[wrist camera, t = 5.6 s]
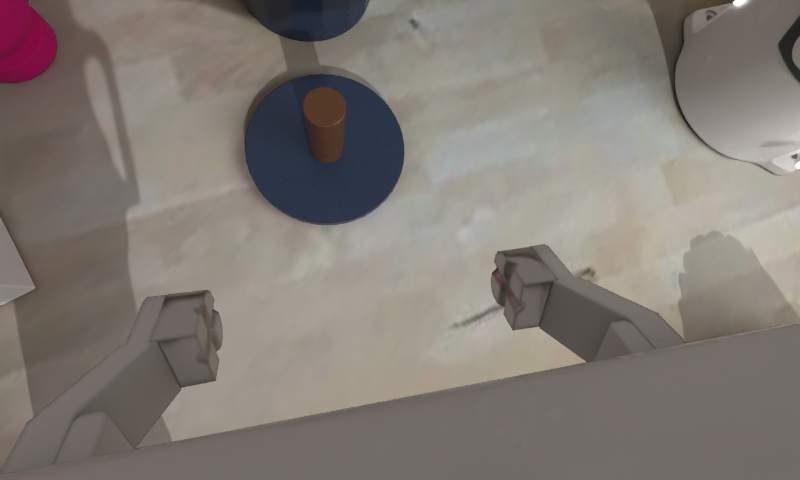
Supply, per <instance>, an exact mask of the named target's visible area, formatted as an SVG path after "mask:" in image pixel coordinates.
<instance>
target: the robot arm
mask: <svg viewBox="0 0 800 480" xmlns="http://www.w3.org/2000/svg"><path fill="white" fill-rule="evenodd" d="M675 89H676V95H677V99H678V102H679V105H680V108H681V110H682V112H683V114H684V116H685V118H686V120H687V122H688V123H689V125H690V126H691V127H692V129H693V130H694V131H695V133H696V134H697V135H698V136H699V137H700V138H701V139H702V140H703V141H704V142H705V143H706V144H708V145H709V146H710V147H712V148H713V149H715V150H716V151H718V152H720V153H721V154H723V155H726V156H728V157H730V158H733V159H737V160H742V161H748V162H753V163H757V164H760V165H761V166H763V167H764V168H766V169H767V170H769V171H771V172H773V173H775V174H777V175H780V176H784V175H787V174H789V173H792V172H794V171H796V170H797V169H798V168H800V0H735V1H734V2H733V3H729V4H724V5H719V6H714V7H709V8H705V9H700V10H696V11H695V12H693V13H692V14H690V15H689V16H687V17H686V18H685V20H684V45H683V48H682V51H681V53H680V55H679V58H678V61H677V64H676V70H675ZM494 263H495V264H496V266H497V268H496V270H495V271H494V272H493V273H492V277H491V288H492V293H493V296H494V298H495V300H496V302H497V303H498V304H500V305H501V306H503V307H505V309H504V313H503V314H504V316H505V318H506V319H507V321H508V323H509V324H510V326H511V328H512V330H518V329H525V328H532V327H539V326H540V329H542V330H543V331H545V332H546V333H547V334H549V335H550V336H552V337H553V338H554V339H556V340H557V341H559V342H560V343H561V344H563V345H564V346H565V347H567V348H568V349H570V350H571V351H572V352H574V353H575V354H577V355H578V356H579V357H581V358H582V359H584V360H585V361H586V362H587V363H581V364H576V365H571V366H566V367H560V368H555V369H550V370H545V371H540V372H534V373H529V374H524V375H519V376H513V377H508V378H503V379H498V380H492V381H487V382H482V383H477V384H472V385H466V386H461V387H456V388H451V389H445V390H440V391H435V392H430V393H425V394H419V395H414V396H409V397H404V398H398V399H393V400H388V401H383V402H377V403H372V404H367V405H362V406H357V407H351V408H346V409H341V410H336V411H330V412H325V413H320V414H315V415H310V416H304V417H299V418H294V419H289V420H283V421H278V422H273V423H268V424H263V425H257V426H252V427H247V428H242V429H237V430H231V431H226V432H221V433H216V434H210V435H205V436H200V437H195V438H190V439H184V440H179V441H174V442H169V443H163V444H158V445H153V446H148V447H143V448H137V449H135V448H136V446H137V445H138V444H139V443H140V441H141V440H142V439H143V438H144V436H145V435H146V434H147V432H148V431H149V430H150V429H151V427H152V426H153V425H154V424H155V422H156V421H157V420H158V418H159V417H160V416H161V415H162V413H163V412H164V411H165V409H166V408H167V407H168V406H169V404H170V403H171V402H172V401H173V399H174V398H175V397H176V395H177V394H178V393H179V392H180V390H181V388H182V387H187V386H192V385H197V384H202V383H207V382H212V381H216V376H217V370H218V364H219V358H218V355H217V353H216V352H217V351H218V349H219V348H220V347H221V346H222V339H223V332H222V322H221V318H220V315H219V312H217V311H215V310H214V309H213V305H214V299H213V296H212V294H211V291H209V290H203V291H194V292H185V293H176V294H168V295H161V296H152V297H147V298H146V299H145V300H144V301H143V303H142V305H141V308H140V310H139V313H138V315H137V318H136V320H135V323H134V325H133V328H132V330H131V333H130V335H129V338H128V340H127V343H126V345H124V346H119V347H118V348H116V349H115V350H114V351H113V352H112V353H110V354H109V355H108V356H107V357H106V358H104V359H103V360H102V361H101V362H99V363H98V364H97V365H96V366H95V367H93V368H92V369H91V370H90V371H89V372H87V373H86V374H85V375H84V376H83V377H81V378H80V379H79V380H78V381H77V382H75V383H74V384H73V385H72V386H70V387H69V388H68V389H67V390H66V391H64V392H63V393H62V394H61V395H60V396H58V397H57V398H56V399H55V400H54V401H52V402H51V403H50V404H49V405H48V406H46V407H45V408H44V409H43V410H41V411H40V412H39V413H38V414H37V415H35V416H34V417H33V418H32V419H31V420H29V421H28V422H27V423H26V425H25V427H24V429H23V431H22V433H21V434H20V436H19V438H18V440H17V442H16V444H15V446H14V447H13V449H12V451H11V453H10V455H9V457H8V459H7V460H6V462H5V464H4V466H3V468H2V470H1V471H0V480H800V322H794V323H789V324H784V325H779V326H774V327H769V328H764V329H759V330H754V331H748V332H743V333H738V334H733V335H728V336H722V337H717V338H712V339H707V340H701V341H696V342H691V343H686V342H685V341H684V340H683V339H682V337H681V336H680V335H679V334H678V333H677V332H676V331H675V330H674V329H673V328H672V327H671V326H670V325H669V324H668V323H667V322H666V321H665V320H664V319H663V318H662V317H661V316H660V315H659V314H658V313H656V312H654V311H652V310H650V309H648V308H645V307H643V306H641V305H639V304H637V303H635V302H632V301H630V300H628V299H626V298H624V297H622V296H619V295H617V294H615V293H613V292H611V291H609V290H606V289H604V288H602V287H600V286H598V285H596V284H594V283H591V282H589V281H587V280H585V279H583V278H581V277H576V278H575V277H574V276H573V275H572V274H571V272H570V271H569V270H568V269H567V268H566V266H565V265H564V264H563V263H562V262H561V261H560V259H559V258H558V257H557V256H556V255H555V254H554V252H553V251H552V250H551V249H550V248H549V246H547V245H545V244H543V245H536V246H530V247H525V248H518V249H511V250H504V251H498V252H497V254H496V255H495V260H494Z"/></svg>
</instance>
